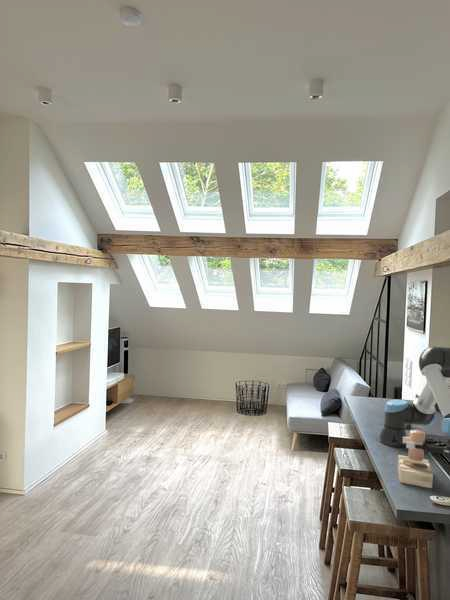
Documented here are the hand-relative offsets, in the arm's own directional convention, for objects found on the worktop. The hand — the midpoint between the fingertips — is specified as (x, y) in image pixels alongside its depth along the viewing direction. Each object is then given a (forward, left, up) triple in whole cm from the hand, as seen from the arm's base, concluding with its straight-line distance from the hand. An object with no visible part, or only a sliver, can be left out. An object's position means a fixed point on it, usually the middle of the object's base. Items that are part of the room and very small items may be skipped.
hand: (405, 442), depth 210 cm
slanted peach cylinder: (-4, +3, -7) cm, 8 cm away
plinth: (-4, +3, -15) cm, 16 cm away
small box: (-71, -53, -15) cm, 90 cm away
